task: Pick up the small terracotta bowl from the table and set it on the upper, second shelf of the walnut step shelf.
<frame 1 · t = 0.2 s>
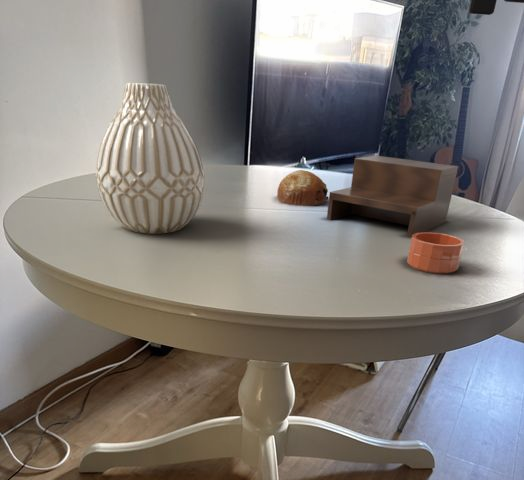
hand: (497, 8, 59), 30 cm above the table, tool pointing down, fingers open, 9 cm apart
vase: (154, 228, 76), on the table
shelf: (386, 222, 87), on the table
bread roll: (302, 203, 99), on the table
bowl: (431, 267, 65), on the table
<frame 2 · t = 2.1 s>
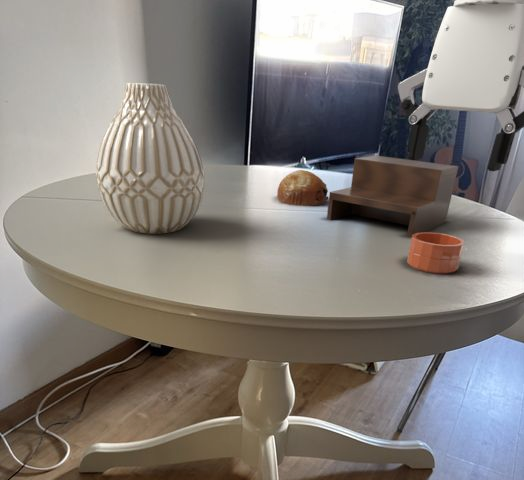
hand: (452, 164, 58), 13 cm above the table, tool pointing down, fingers open, 9 cm apart
nothing on the table moved.
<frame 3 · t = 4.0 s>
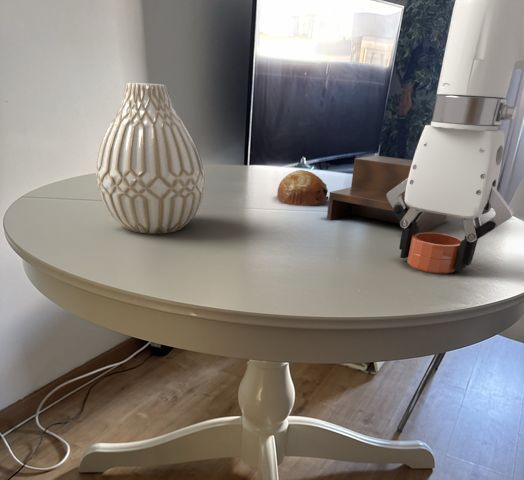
hand: (432, 261, 64), 1 cm above the table, tool pointing down, fingers closed on bowl, 6 cm apart
bowl: (431, 267, 65), on the table, touching gripper
everything else where it was.
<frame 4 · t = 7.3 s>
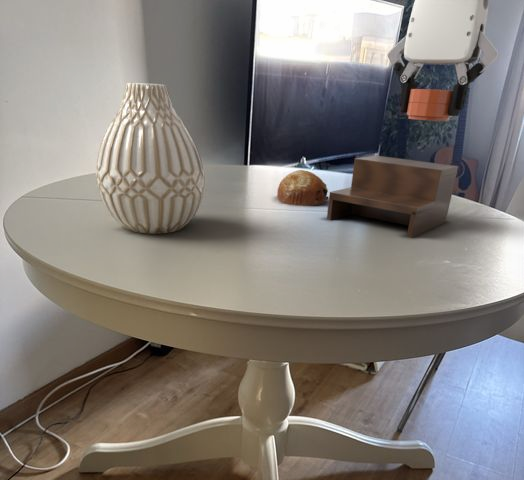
hand: (429, 112, 73), 18 cm above the table, tool pointing down, fingers closed on bowl, 6 cm apart
bowl: (428, 119, 73), point 17 cm above the table, touching gripper
everything else where it was.
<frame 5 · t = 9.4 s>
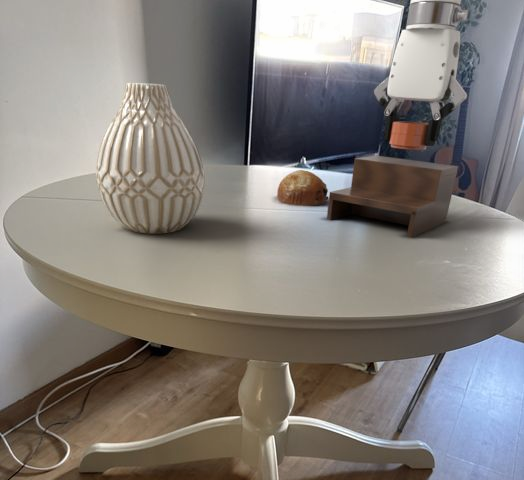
hand: (409, 142, 84), 13 cm above the table, tool pointing down, fingers closed on bowl, 6 cm apart
bowl: (408, 147, 84), point 12 cm above the table, touching gripper
everything else where it was.
when the fingers open (11 cm above the table, at t = 10.6 s): bowl stays where it is, resting on shelf.
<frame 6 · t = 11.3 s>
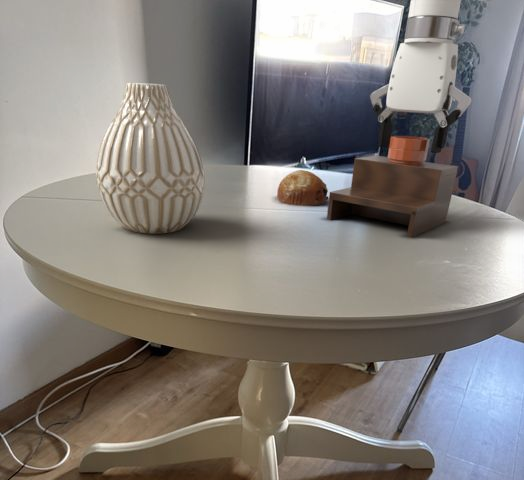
hand: (409, 149, 84), 12 cm above the table, tool pointing down, fingers open, 9 cm apart
bowl: (405, 162, 85), point 10 cm above the table, touching shelf
everything else where it was.
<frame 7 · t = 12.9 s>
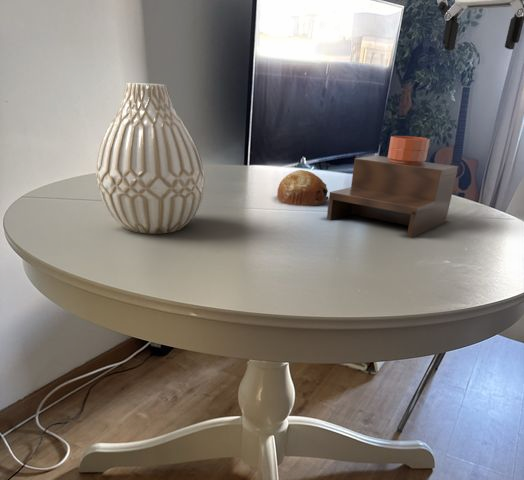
hand: (478, 49, 79), 28 cm above the table, tool pointing down, fingers open, 9 cm apart
nothing on the table moved.
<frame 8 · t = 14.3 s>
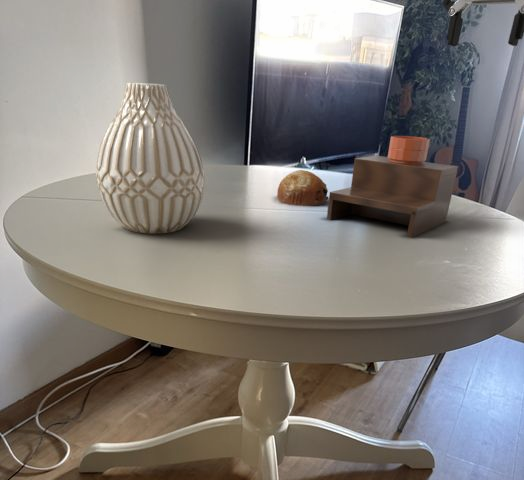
hand: (481, 45, 79), 28 cm above the table, tool pointing down, fingers open, 9 cm apart
nothing on the table moved.
at the end: bowl inside the target area on the shelf (0.2 cm from its centre), point 10.0 cm above the shelf's base; bowl tilted 0°; the gripper is holding nothing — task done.
